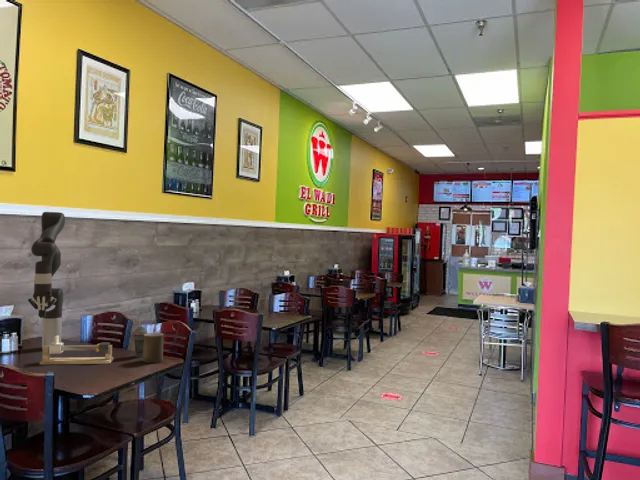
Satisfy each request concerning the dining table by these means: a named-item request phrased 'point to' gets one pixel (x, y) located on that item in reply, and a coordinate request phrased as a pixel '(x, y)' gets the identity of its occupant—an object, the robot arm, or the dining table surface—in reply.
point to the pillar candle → (153, 348)
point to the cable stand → (100, 348)
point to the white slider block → (55, 346)
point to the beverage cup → (139, 340)
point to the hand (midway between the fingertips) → (41, 317)
